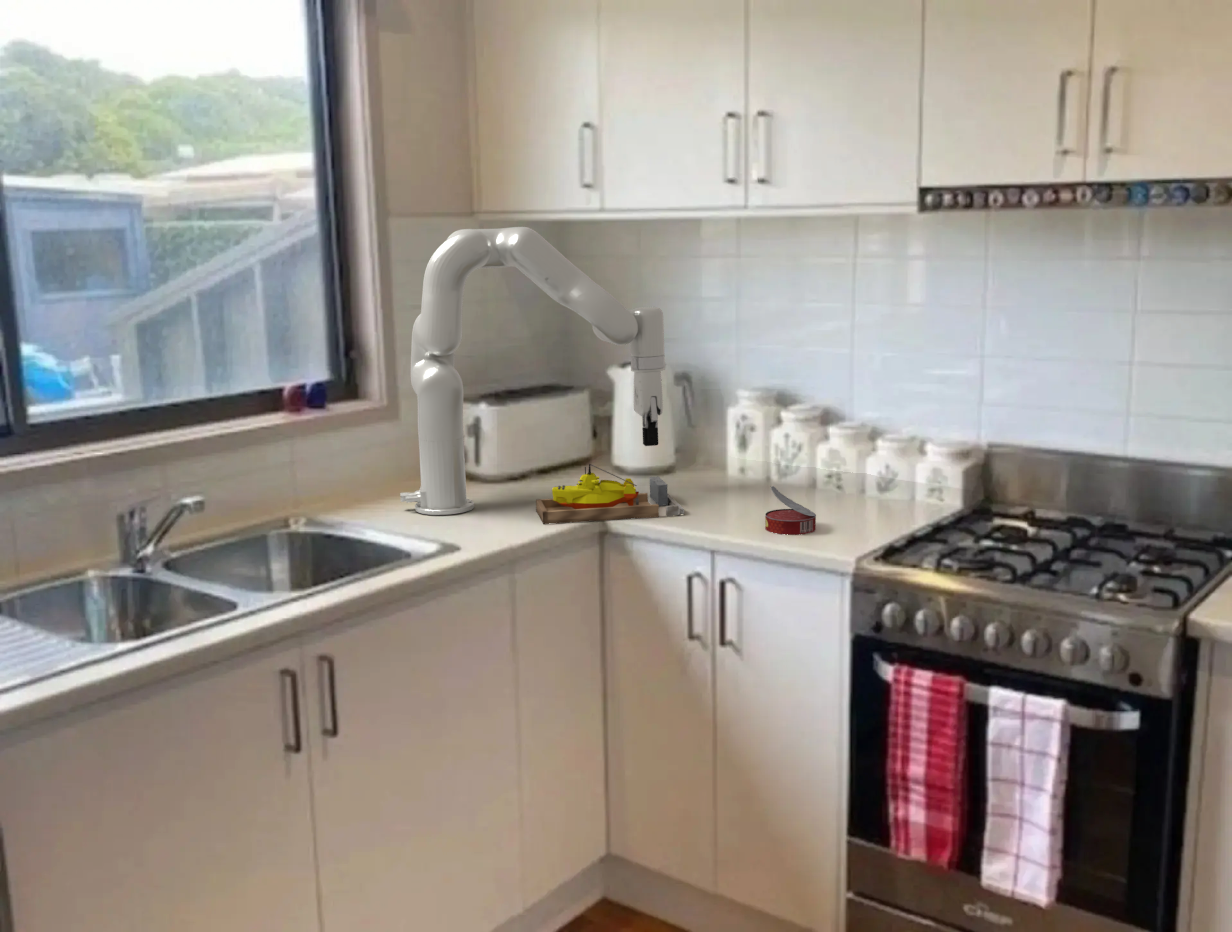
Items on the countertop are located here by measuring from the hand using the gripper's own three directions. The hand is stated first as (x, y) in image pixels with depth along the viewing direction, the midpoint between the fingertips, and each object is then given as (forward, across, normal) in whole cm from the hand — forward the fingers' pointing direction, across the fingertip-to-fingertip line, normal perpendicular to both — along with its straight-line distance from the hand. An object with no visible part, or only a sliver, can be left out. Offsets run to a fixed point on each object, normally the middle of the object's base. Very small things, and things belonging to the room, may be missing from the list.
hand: (650, 444), depth 271 cm
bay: (+10, +14, -13) cm, 22 cm away
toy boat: (+10, +18, -16) cm, 26 cm away
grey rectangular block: (+11, +10, -1) cm, 15 cm away
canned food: (+11, +40, +19) cm, 46 cm away
